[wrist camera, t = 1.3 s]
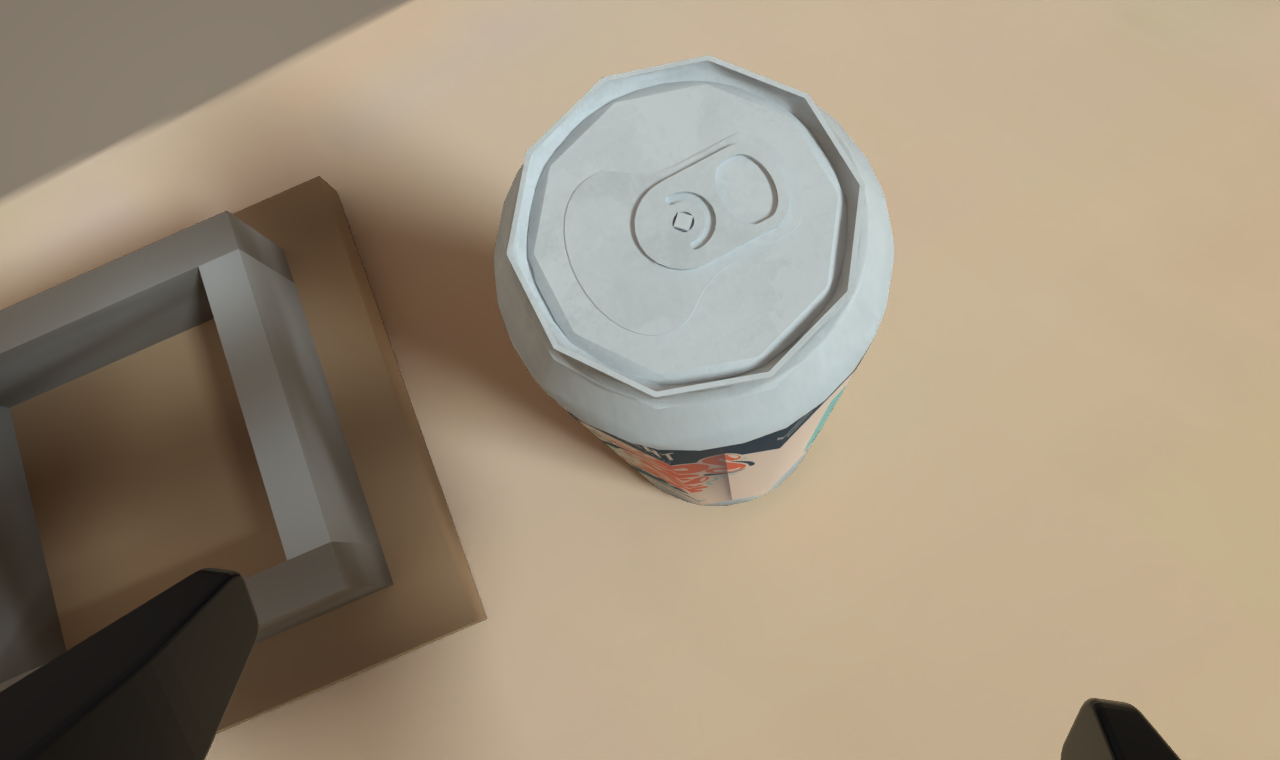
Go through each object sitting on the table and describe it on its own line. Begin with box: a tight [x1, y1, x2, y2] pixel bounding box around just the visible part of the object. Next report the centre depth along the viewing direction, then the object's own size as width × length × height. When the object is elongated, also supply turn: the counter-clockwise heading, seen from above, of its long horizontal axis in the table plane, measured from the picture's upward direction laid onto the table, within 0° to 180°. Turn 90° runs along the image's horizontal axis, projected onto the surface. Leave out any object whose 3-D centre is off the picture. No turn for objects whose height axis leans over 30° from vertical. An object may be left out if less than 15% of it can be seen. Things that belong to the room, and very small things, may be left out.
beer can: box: [494, 55, 894, 506], centre depth 15 cm, size 5×5×12 cm
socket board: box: [0, 176, 487, 734], centre depth 21 cm, size 12×12×4 cm
